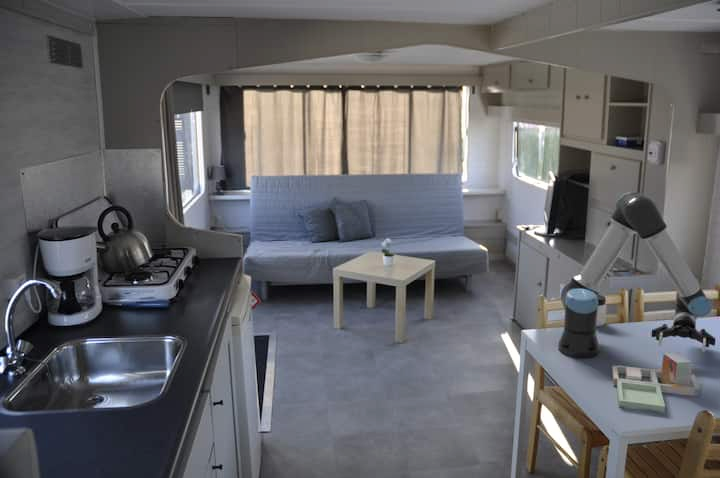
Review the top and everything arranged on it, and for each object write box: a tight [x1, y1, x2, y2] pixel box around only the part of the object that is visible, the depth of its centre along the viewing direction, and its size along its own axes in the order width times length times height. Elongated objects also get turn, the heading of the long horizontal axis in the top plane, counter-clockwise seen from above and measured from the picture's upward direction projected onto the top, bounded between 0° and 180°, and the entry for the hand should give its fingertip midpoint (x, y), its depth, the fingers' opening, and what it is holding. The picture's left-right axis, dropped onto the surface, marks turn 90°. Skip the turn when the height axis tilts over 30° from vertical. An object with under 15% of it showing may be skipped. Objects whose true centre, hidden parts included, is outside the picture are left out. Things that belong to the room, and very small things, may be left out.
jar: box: [596, 294, 607, 327], centre depth 262 cm, size 9×8×12 cm
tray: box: [616, 380, 666, 415], centre depth 196 cm, size 13×15×2 cm
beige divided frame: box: [611, 364, 701, 398], centre depth 207 cm, size 26×12×3 cm, turn 70°
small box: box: [660, 352, 693, 387], centre depth 204 cm, size 8×6×10 cm
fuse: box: [624, 366, 643, 381], centre depth 209 cm, size 5×7×4 cm, turn 160°
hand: (681, 345), depth 211 cm, fingers open, 13 cm apart
